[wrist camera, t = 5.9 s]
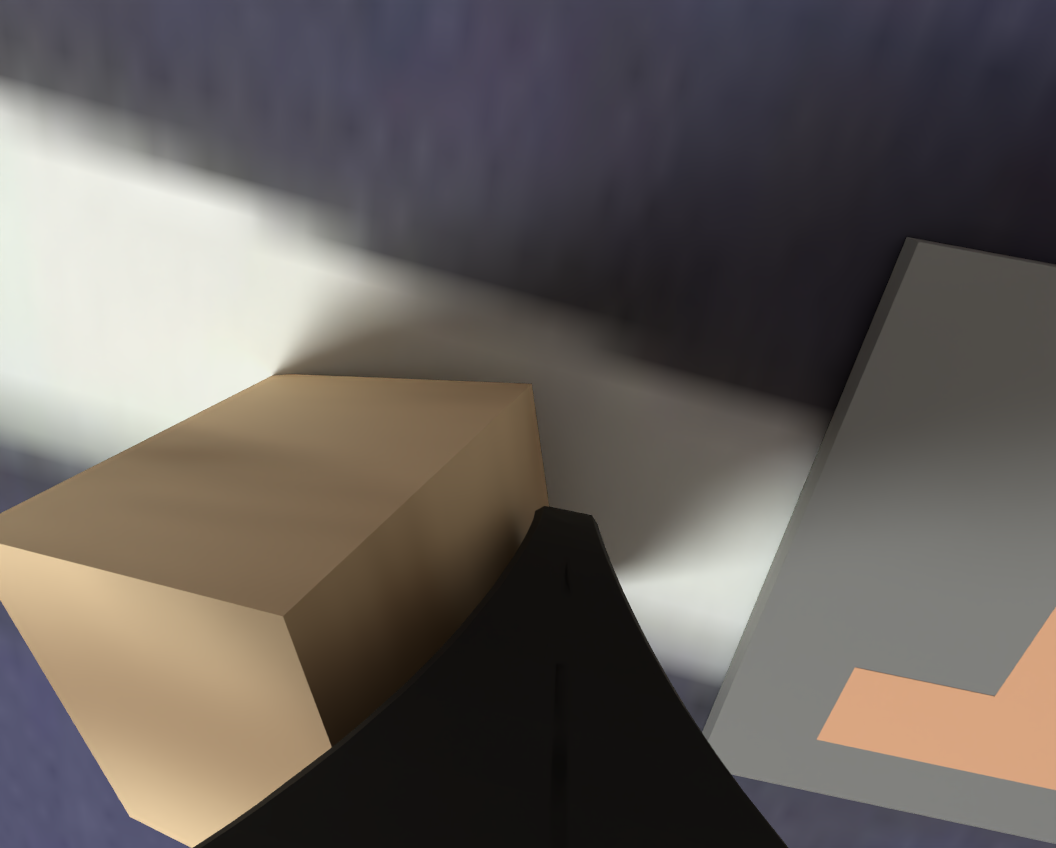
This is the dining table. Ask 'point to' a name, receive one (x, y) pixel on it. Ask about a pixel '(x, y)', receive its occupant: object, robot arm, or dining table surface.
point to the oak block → (266, 577)
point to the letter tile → (920, 565)
